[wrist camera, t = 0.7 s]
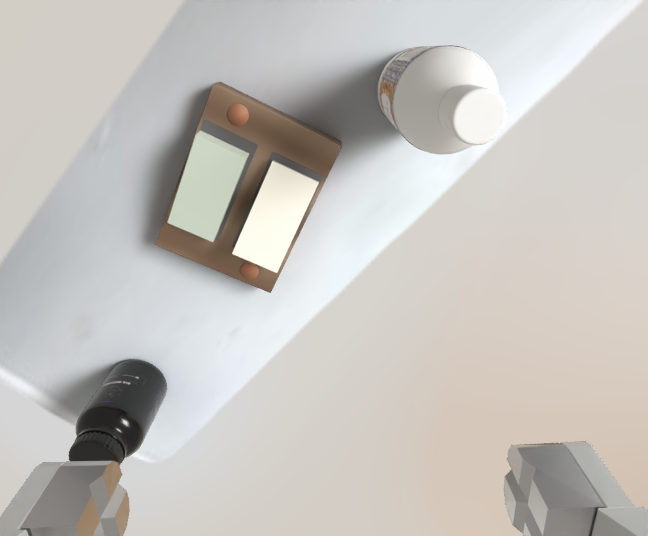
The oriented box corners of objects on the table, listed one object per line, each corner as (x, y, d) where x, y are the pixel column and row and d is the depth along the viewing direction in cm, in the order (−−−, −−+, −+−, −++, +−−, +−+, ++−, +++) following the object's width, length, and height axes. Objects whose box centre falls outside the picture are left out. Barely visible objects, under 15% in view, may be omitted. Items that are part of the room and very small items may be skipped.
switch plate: (220, 81, 43) (210, 84, 40) (340, 141, 45) (342, 149, 42) (164, 233, 49) (151, 248, 46) (273, 279, 51) (269, 297, 48)
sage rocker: (200, 130, 40) (195, 135, 39) (249, 153, 41) (246, 158, 40) (171, 216, 45) (167, 222, 44) (216, 235, 46) (212, 242, 45)
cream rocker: (273, 160, 43) (272, 160, 42) (318, 181, 44) (318, 182, 42) (233, 250, 45) (231, 253, 44) (277, 269, 45) (277, 273, 44)
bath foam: (362, 73, 43) (390, 91, 25) (434, 30, 42) (519, 15, 23) (397, 142, 46) (445, 205, 27) (466, 104, 44) (565, 142, 26)
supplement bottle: (135, 346, 55) (88, 420, 44) (180, 384, 57) (146, 463, 46) (97, 379, 57) (42, 457, 46) (142, 414, 59) (100, 497, 48)
